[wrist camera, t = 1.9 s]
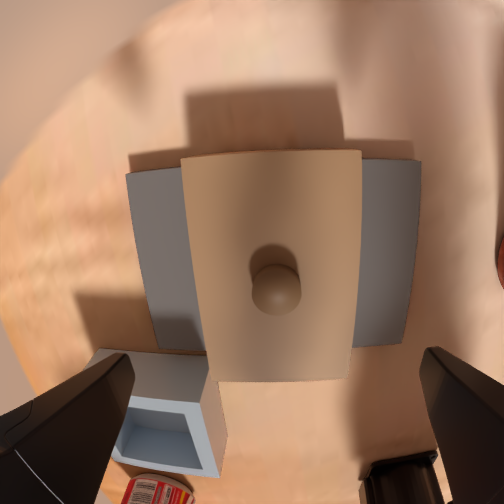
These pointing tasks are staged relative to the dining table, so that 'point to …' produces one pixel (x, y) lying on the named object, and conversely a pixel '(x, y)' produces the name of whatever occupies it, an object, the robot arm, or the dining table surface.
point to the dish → (171, 415)
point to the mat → (371, 253)
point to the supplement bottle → (501, 264)
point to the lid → (276, 260)
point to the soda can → (156, 491)
